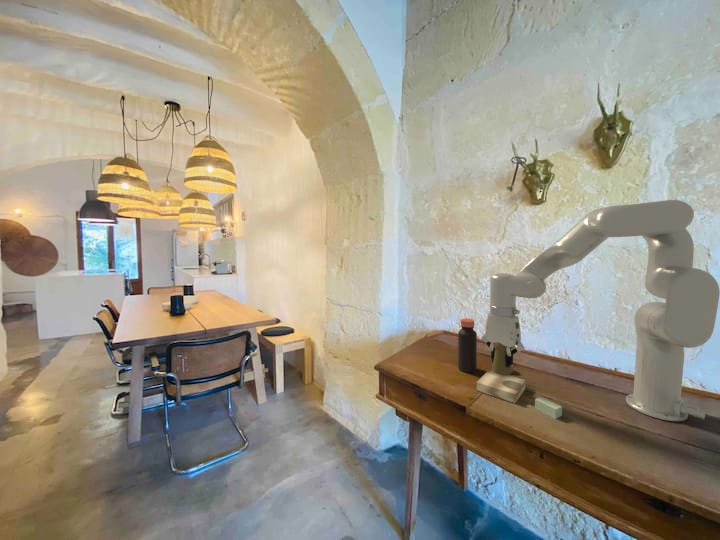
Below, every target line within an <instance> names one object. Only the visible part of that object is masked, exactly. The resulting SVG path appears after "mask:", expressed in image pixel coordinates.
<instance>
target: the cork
mask: <svg viewBox="0 0 720 540" xmlns="http://www.w3.org/2000/svg"><path fill="white" fill-rule="evenodd" d="M493 345H494V348H495V353H494V360H493V363H492V367H491V371H493V372H494V373H496V374H499V375H510V376H511V375H512V373H511V366H509V367H508V368H507V367H506V363H505V356H506V355H507V350H506V346H504V345H502V344H501V343H499V342H496V343H493Z"/></svg>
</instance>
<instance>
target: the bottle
mask: <svg viewBox="0 0 720 540" xmlns="http://www.w3.org/2000/svg"><path fill="white" fill-rule="evenodd" d="M460 327H461V329H460V330H459V331H458V332H457V333H458V335H457V336H458V339H457V341H458V345H457V346H458V349H457V351H458V353H457V356H458V357H457V358H458V359H457V360H458V361H457V362H458V363H457V365H458V369H459V371H461V372H463V373H468V374H472V373H475V372H477V361H478V360H477V359H478V358H477V355H478V352H477V351H478V349H477V347H478V345H477V343H478V341H477V339H478V338H477V337H478V335H477V332H476V330H475V329H474V328H475V320H474V319H472V318H461V319H460Z"/></svg>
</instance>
